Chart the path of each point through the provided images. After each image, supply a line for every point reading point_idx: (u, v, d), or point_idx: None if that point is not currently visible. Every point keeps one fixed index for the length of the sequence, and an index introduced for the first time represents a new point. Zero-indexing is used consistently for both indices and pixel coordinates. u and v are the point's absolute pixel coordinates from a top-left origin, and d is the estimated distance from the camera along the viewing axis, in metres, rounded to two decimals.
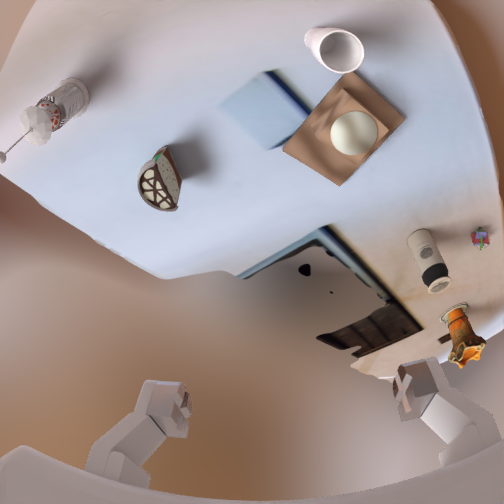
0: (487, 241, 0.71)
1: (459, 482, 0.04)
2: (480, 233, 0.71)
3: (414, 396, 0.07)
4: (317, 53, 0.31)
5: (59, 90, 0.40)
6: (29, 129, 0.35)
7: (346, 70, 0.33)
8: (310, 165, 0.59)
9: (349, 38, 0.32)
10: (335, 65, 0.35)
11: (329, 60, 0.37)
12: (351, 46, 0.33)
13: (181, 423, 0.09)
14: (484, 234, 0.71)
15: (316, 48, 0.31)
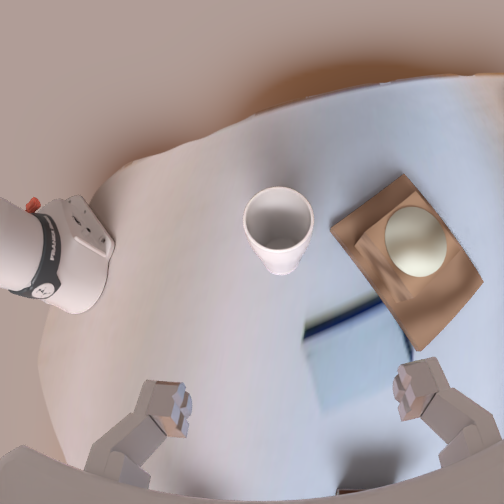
0: None
1: (459, 482, 0.04)
2: None
3: (414, 396, 0.07)
4: (273, 253, 0.26)
5: None
6: None
7: (310, 219, 0.27)
8: (450, 317, 0.34)
9: (271, 208, 0.32)
10: None
11: None
12: (284, 209, 0.32)
13: (181, 423, 0.09)
14: None
15: (265, 252, 0.27)
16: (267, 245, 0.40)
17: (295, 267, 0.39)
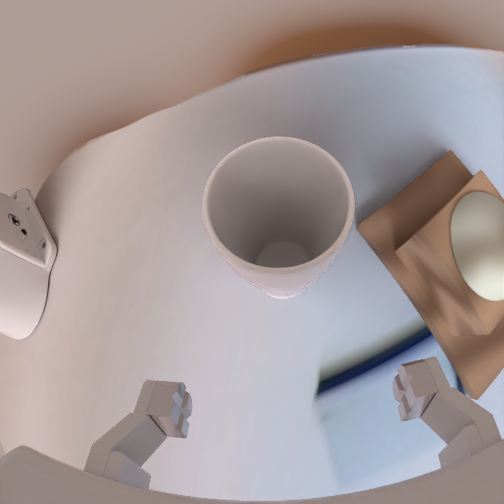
0: None
1: (459, 482, 0.04)
2: None
3: (414, 396, 0.07)
4: (266, 276, 0.12)
5: None
6: None
7: (346, 202, 0.12)
8: None
9: (264, 186, 0.17)
10: (333, 241, 0.16)
11: None
12: (289, 188, 0.17)
13: (181, 423, 0.09)
14: None
15: (249, 273, 0.12)
16: (261, 252, 0.25)
17: None
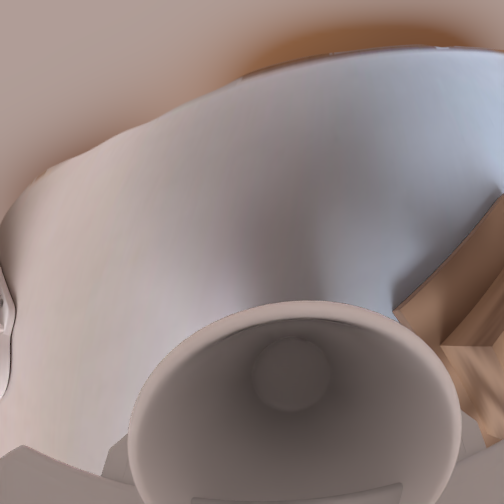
0: None
1: (459, 482, 0.04)
2: None
3: None
4: None
5: None
6: None
7: (439, 449, 0.04)
8: None
9: (268, 327, 0.09)
10: (382, 425, 0.08)
11: (355, 406, 0.11)
12: (313, 326, 0.09)
13: None
14: None
15: None
16: (261, 355, 0.17)
17: None
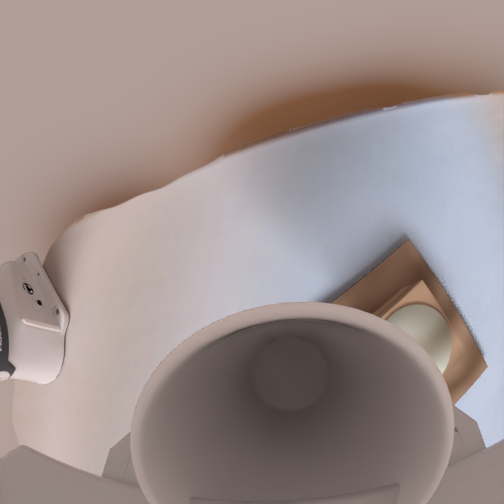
0: None
1: (459, 482, 0.04)
2: None
3: None
4: None
5: None
6: None
7: (433, 447, 0.04)
8: None
9: (267, 327, 0.09)
10: (379, 423, 0.08)
11: (352, 405, 0.11)
12: (311, 326, 0.09)
13: None
14: None
15: None
16: (260, 355, 0.17)
17: None
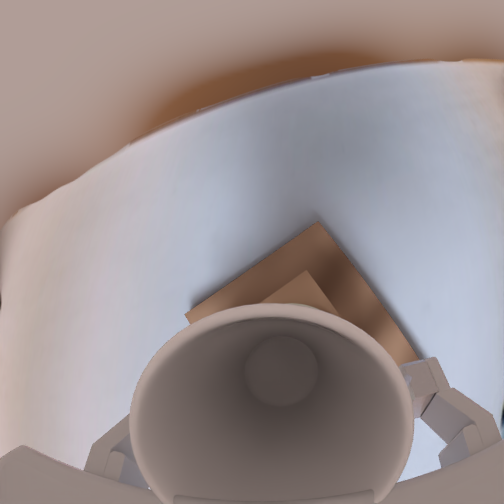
0: None
1: (459, 482, 0.04)
2: None
3: (414, 396, 0.07)
4: None
5: None
6: None
7: (396, 438, 0.05)
8: None
9: (254, 325, 0.10)
10: (356, 417, 0.09)
11: (336, 401, 0.12)
12: (295, 325, 0.10)
13: None
14: None
15: None
16: (253, 352, 0.18)
17: None
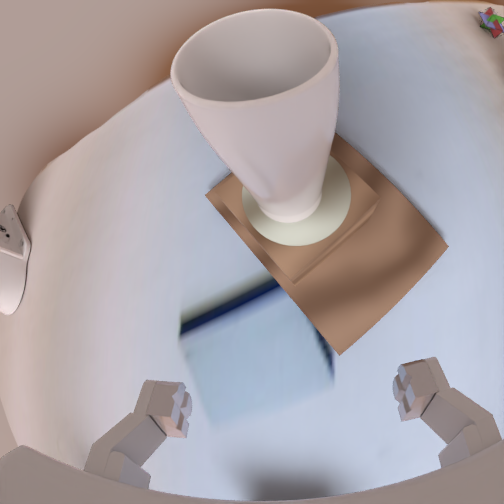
0: (489, 11, 0.26)
1: (459, 482, 0.04)
2: (485, 21, 0.28)
3: (414, 396, 0.07)
4: (242, 116, 0.09)
5: None
6: None
7: (329, 48, 0.09)
8: (389, 304, 0.26)
9: (249, 78, 0.14)
10: None
11: None
12: (276, 79, 0.14)
13: (181, 423, 0.09)
14: (483, 16, 0.28)
15: (224, 120, 0.09)
16: None
17: (315, 204, 0.21)
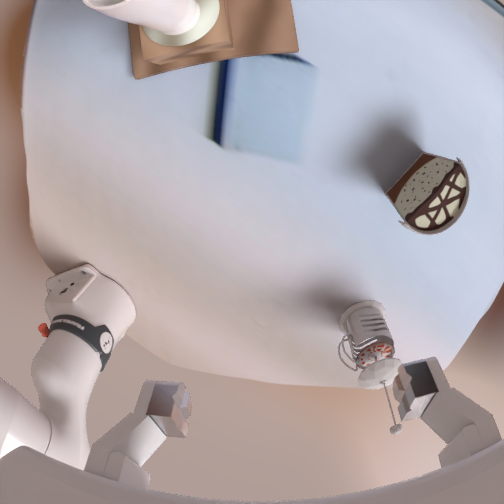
0: None
1: (459, 482, 0.04)
2: None
3: (414, 396, 0.07)
4: None
5: None
6: (382, 384, 0.39)
7: None
8: (288, 6, 0.27)
9: None
10: None
11: None
12: None
13: (181, 423, 0.09)
14: None
15: None
16: None
17: (197, 3, 0.21)
